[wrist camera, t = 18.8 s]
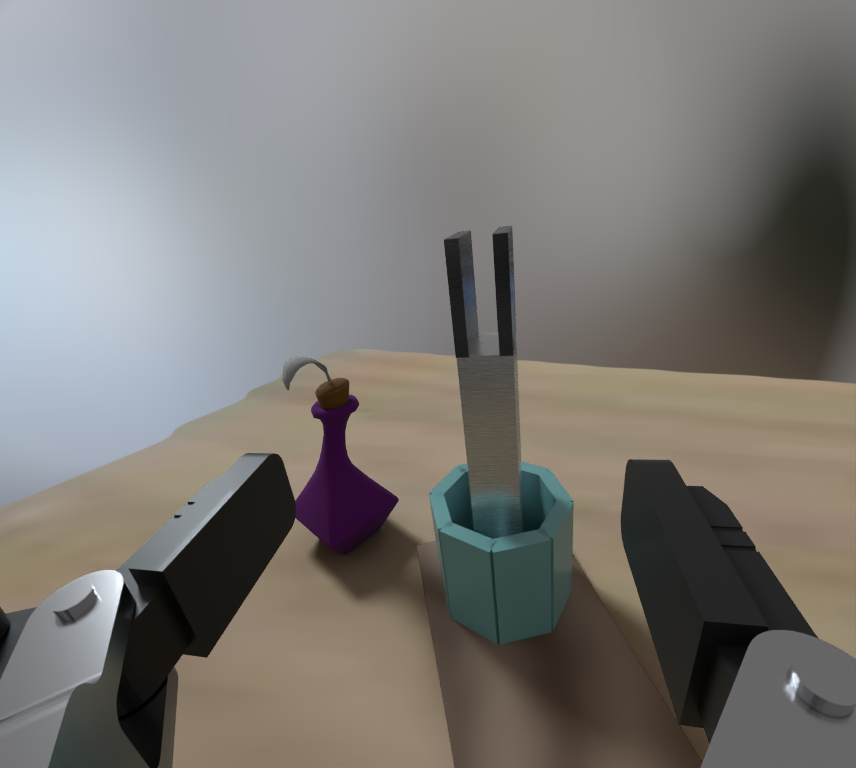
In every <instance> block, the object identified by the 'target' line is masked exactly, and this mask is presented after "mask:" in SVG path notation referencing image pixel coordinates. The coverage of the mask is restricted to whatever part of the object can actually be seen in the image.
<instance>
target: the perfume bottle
mask: <svg viewBox="0 0 856 768" xmlns="http://www.w3.org/2000/svg"><path fill="white" fill-rule="evenodd" d="M309 363H314V364H315V365H317V366H318V367H319V368H320V369H321V370H323V371H324V372H325V373H326V376H327V379H328V381H327V382H325V383H323V384H321V385H320V386H319V387H318V389H317V390H316V392H315V393H316V396H317V399H318V401H317V402H316V403H315V404H314V405H313V406H312V408H311V412H312V414H313V417H314V418H317V419H320V420H321V422H322V423H323V430H324V436H323V444H322V450H321V454H320V459H319V462H318V464H317V467H316V470H315V472H314V474H313V475H312V477H311V478H310V480H309V482H308V483H307V485H306V486H305V488H304V490H303V491H302V492H301V494H300V495H299V496H298V498H297V499H296V501H295V503H296V516H295V518H296V519H297V520H299V521H300V522H301V523H302V524H303V525H304V526H305V527H307V528H308V529H309V530H310V531H311V532H312V533H313V534H314V535H316V536H317V537H318V538H319V539H320V540H321V541H322V542H324V543H325V544H326V545H327V546H328V547H329V548H331V549H333V550H335V551H337V552H339V553H341V554H344V555H345V554H347V553H349V552H350V551H351V550H353V549H354V548H355V547H357V546H358V545H359V544H361V543H362V542H363V541H365V540H366V539H367V538H369V537H370V536H371V535H373V534H374V533H375V532H377V531H378V530H379V529H380V527H381V526H382V524H383V523H384V522H385V520H386V519H387V517H388V516H389V514H390V513H391V511H392V510H393V508H394V507H395V505H396V504H397V502H398V501H399V499H398V498H397V497H396V496H395V495H393V494H392V493H391V492H389V491H388V490H386V489H385V488H383V487H382V486H381V485H379V484H378V483H376V482H375V481H373V480H372V479H371V478H369V477H368V476H366V475H365V474H364V473H363V472H361V471H360V470H359V469H358V468H357V467H355V466H354V465H353V464H352V463H351V461H350V459H349V457H348V455H347V450H346V445H345V430H346V424H347V421H348V418H349V416H350V414H351V413H352V412H354V411H356V409H357V408H358V406H359V402H358V400H357V399H356V397H355V396H352V395H349V381H348V380H347V379H344V378H336V379H332V380H331V379H330V377H329V374H328V372H327V368H326V366H324V365H323V364H321V363H319V362H317V361H316V360H314V359H311V358H305V357H290V358H289V359H288V360H287V361H286V362H285V364H284V367H283V378H282V381H283V383H284V385H285V387H286V388H287V390H289V386H290V382H291V380H292V379H293V377H294V375H295V373H296V372H297V371H298V370H299V369H300V368H301V367H302V366H304V365H306V364H309Z"/></svg>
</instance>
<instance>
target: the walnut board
mask: <svg viewBox="0 0 856 768" xmlns="http://www.w3.org/2000/svg"><path fill="white" fill-rule="evenodd" d="M416 546H417V552H418V557H419V563H420V569H421V575H422V581H423V586H424V592H425V598H426V604H427V610H428V615H429V621H430V627H431V633H432V638H433V644H434V650H435V656H436V662H437V667H438V673H439V679H440V685H441V691H442V696H443V702H444V708H445V714H446V719H447V725H448V731H449V737H450V743H451V748H452V754H453V760H454V766H455V768H700V767H701V765H702V761H701V759H700V758H699V756H698V754H697V753H696V751H695V750H694V748H693V746H692V745H691V743H690V742H689V740H688V738H687V737H686V735H685V734H684V732H683V730H682V729H681V727H680V726H679V724H678V723H677V721H676V719H675V718H674V716H673V715H672V713H671V711H670V710H669V708H668V707H667V705H666V703H665V702H664V700H663V699H662V697H661V695H660V694H659V692H658V691H657V689H656V687H655V686H654V684H653V683H652V681H651V679H650V678H649V676H648V675H647V673H646V671H645V670H644V668H643V667H642V665H641V663H640V662H639V660H638V659H637V657H636V655H635V654H634V652H633V651H632V649H631V647H630V646H629V644H628V643H627V641H626V639H625V638H624V636H623V635H622V633H621V631H620V630H619V628H618V627H617V625H616V624H615V622H614V620H613V619H612V617H611V616H610V614H609V612H608V611H607V609H606V608H605V606H604V604H603V603H602V601H601V600H600V598H599V596H598V595H597V593H596V592H595V590H594V588H593V587H592V585H591V584H590V582H589V580H588V579H587V577H586V576H585V574H584V572H583V571H582V569H581V568H580V566H579V564H578V563H577V561H576V560H575V558H574V556H573V555H572V590H571V593H570V595H569V598H568V600H567V602H566V604H565V606H564V609H563V611H562V613H561V615H560V618H559V620H558V622H557V624H556V626H555V629H554V630H552V629H551V633H547V634H542V635H538V636H534V637H530V638H526V639H522V640H517V641H513V642H509V643H505V644H501V645H500V643H499V641H498V643H497V644H496V643H494V642H492V641H491V640H489V639H487V638H485V637H483V636H482V635H480V634H478V633H476V632H475V631H473V630H471V629H469V628H468V627H466V626H464V625H462V624H461V623H459V622H457V621H455V620H454V619H452V616H450V613H449V608H448V604H447V599H446V595H445V591H444V586H443V582H442V577H441V571H440V564H439V558H438V551H437V545H436V541H434V542H429V543H424V544H420V545H416Z"/></svg>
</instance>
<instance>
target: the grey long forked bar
mask: <svg viewBox="0 0 856 768" xmlns="http://www.w3.org/2000/svg"><path fill="white" fill-rule="evenodd" d="M444 246H445V256H446V266H447V275H448V284H449V295H450V305H451V315H452V324H453V334H454V344H455V353H456V358H457V366H458V376H459V386H460V396H461V406H462V416H463V425H464V435H465V445H466V455H467V465H468V475H469V485H470V495H471V504H472V514H473V524H474V532H477V533H479V534H481V535H484V536H486V537H489V538H491V539H496V538H500V537H505V536H510V535H514V534H519V533H524V518H523V492H522V467H521V442H520V417H519V391H518V366H517V342H516V314H515V288H514V262H513V236H512V226H506V227H499V228H498V229H497V230H496V231H495V232H494V233H493V251H494V268H495V285H496V303H497V320H498V332H496V333H478V319H477V306H476V293H475V281H474V268H473V254H472V242H471V231H463V232H458V233H456V234H454V235H452V236H450V237H448V238H446V239H445V240H444Z"/></svg>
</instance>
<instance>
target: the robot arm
mask: <svg viewBox="0 0 856 768" xmlns="http://www.w3.org/2000/svg"><path fill="white" fill-rule="evenodd" d="M295 516H296V503H295V499H294V496H293V493H292V490H291V486H290V483H289V480H288V476H287V473H286V470H285V467H284V463H283V461H282V459H281V457H280V456H279V455H278V454H266V453H247V454H245V455H243V456H242V457H241V458H240V459H239V460H238V461H237V462H236V463H235V464H234V465H233V466H232V467H230V468H229V469H228V470H227V471H226V472H225V473H224V474H223V475H221V476H220V477H218V478H216V479H215V480H213V481H212V482H210V483H208V484H207V485H205V486H204V487H203V488H202V489H201V490H200V491H199V492H198V493H197V494H196V495H194V496H193V497H192V498H191V499H190V500H189V501H188V505H184V506H183V507H182V508H181V509H180V510H179V511H178V512H177V513H176V514H175V516H174V518H171V519H170V520H168V521H167V522H166V523H165V524H164V525H163V526H162V527H161V528H160V529H159V530H158V531H157V532H156V533H155V534H154V535H153V536H152V537H151V538H150V539H149V540H148V541H147V542H146V543H145V544H144V545H142V546H141V547H140V548H139V549H138V550H137V551H136V552H135V553H134V554H133V555H132V556H131V557H130V558H129V559H128V560H127V561H126V562H125V563H124V564H123V565H122V566H121V567H120V568H119V569H117V570H116V571H113V570H103V571H97V572H93V573H90V574H87V575H85V576H82V577H80V578H78V579H76V580H74V581H72V582H70V583H68V584H66V585H65V586H63V587H61V588H60V589H58V590H57V591H55V592H54V593H53V594H52V595H50V596H49V597H48V598H47V599H45V600H44V601H43V602H42V603H41V604H40V605H39V606H38V607H36V608H31V609H26V610H21V611H16V612H11V613H7V614H5V613H4V611H3V610H2V609H1V607H0V768H172V765H173V750H174V735H175V721H176V706H177V691H178V673H177V670H176V668H175V667H174V666H175V664H176V663H177V662H178V660H179V659H180V657H181V656H182V655H183V654H185V655H192V656H199V657H208V655H209V654H210V652H211V651H212V649H213V648H214V646H215V645H216V643H217V642H218V640H219V638H220V637H221V635H222V634H223V632H224V631H225V629H226V628H227V626H228V625H229V623H230V622H231V620H232V619H233V617H234V615H235V614H236V612H237V611H238V609H239V608H240V606H241V605H242V603H243V602H244V600H245V599H246V597H247V596H248V594H249V592H250V591H251V589H252V588H253V586H254V585H255V583H256V582H257V580H258V579H259V577H260V576H261V574H262V573H263V571H264V570H265V568H266V566H267V565H268V563H269V562H270V560H271V559H272V557H273V556H274V554H275V553H276V551H277V550H278V548H279V547H280V545H281V543H282V542H283V540H284V539H285V537H286V536H287V534H288V533H289V531H290V530H291V528H292V526H293V524H294V520H295ZM621 534H622V541H623V545H624V549H625V553H626V556H627V559H628V562H629V565H630V569H631V572H632V575H633V578H634V581H635V585H636V588H637V591H638V594H639V597H640V601H641V604H642V607H643V610H644V613H645V617H646V620H647V623H648V626H649V630H650V633H651V636H652V639H653V642H654V646H655V649H656V652H657V655H658V658H659V662H660V665H661V668H662V671H663V674H664V678H665V681H666V684H667V687H668V690H669V694H670V697H671V700H672V703H673V707H674V710H675V713H676V716H677V719H678V723H679V725H686V726H693V727H701V728H704V730H705V732H706V735H707V738H708V741H709V744H710V745H709V747H708V750H707V752H706V755H705V757H704V760H703V762H702V765H701V767H700V768H856V659H855V658H853V657H852V656H850V655H849V654H847V653H846V652H844V651H842V650H841V649H839V648H837V647H835V646H833V645H832V644H830V643H827V642H825V641H823V640H821V639H819V638H818V637H817V636H816V635H815V633H814V632H813V630H812V629H811V627H810V626H809V625H808V623H807V622H806V620H805V619H804V617H803V616H802V614H801V613H800V611H799V610H798V608H797V607H796V605H795V604H794V602H793V601H792V600H791V598H790V597H789V595H788V594H787V592H786V591H785V589H784V588H783V586H782V585H781V583H780V582H779V580H778V579H777V578H776V576H775V575H774V573H773V572H772V570H771V569H770V567H769V566H768V564H767V563H766V561H765V560H764V558H763V557H762V555H761V554H760V553H759V552H756V549H755V545H754V544H753V542H752V541H751V539H750V538H749V536H748V535H747V533H746V532H743V530H742V526H741V525H740V523H739V522H738V520H737V519H736V517H735V516H734V514H733V513H732V511H731V510H730V508H729V507H728V506H727V505H726V504H725V503H724V502H722V501H721V500H720V499H719V498H717V497H716V496H715V495H713V494H712V493H711V492H709V491H708V490H707V489H705V488H704V487H703V486H686V485H685V483H684V481H683V480H682V478H681V476H680V474H679V473H678V471H677V469H676V468H675V466H674V464H673V463H672V462H671V461H670V460H628V462H627V466H626V473H625V482H624V492H623V502H622V511H621Z"/></svg>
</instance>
